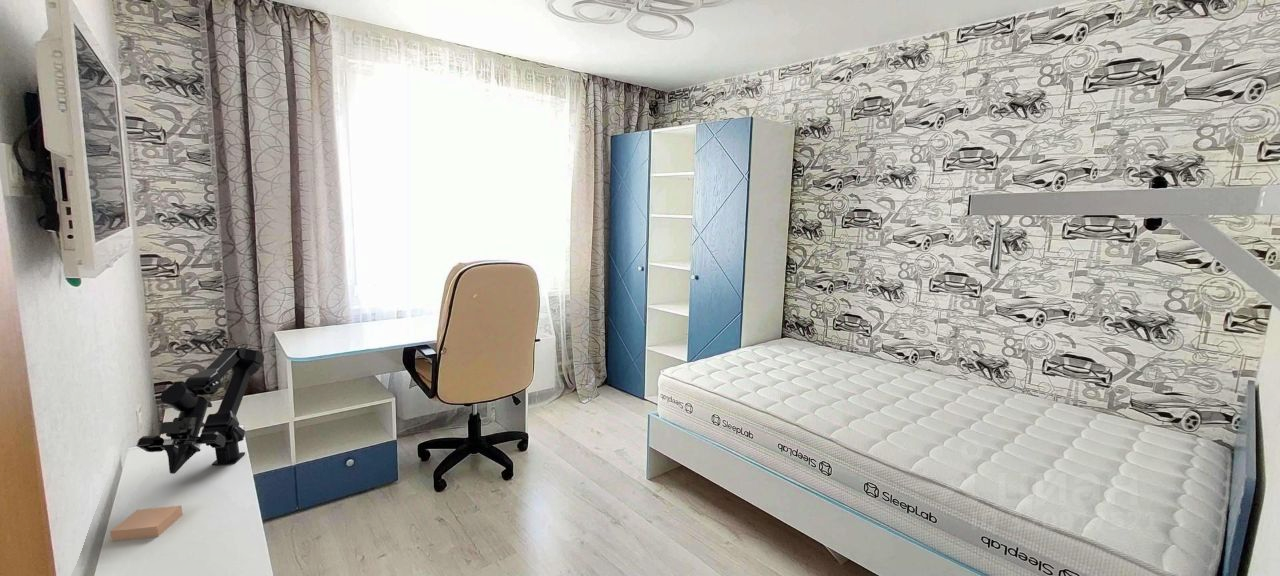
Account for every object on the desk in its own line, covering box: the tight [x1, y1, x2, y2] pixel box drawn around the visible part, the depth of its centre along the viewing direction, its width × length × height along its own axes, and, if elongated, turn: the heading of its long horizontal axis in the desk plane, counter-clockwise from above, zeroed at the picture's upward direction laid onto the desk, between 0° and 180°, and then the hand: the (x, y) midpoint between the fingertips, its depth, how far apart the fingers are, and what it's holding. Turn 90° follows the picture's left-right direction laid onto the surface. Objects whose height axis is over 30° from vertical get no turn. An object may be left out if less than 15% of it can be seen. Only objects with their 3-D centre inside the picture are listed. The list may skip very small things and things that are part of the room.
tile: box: [109, 505, 184, 542], centre depth 134 cm, size 3×10×9 cm
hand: (172, 473), depth 143 cm, fingers closed
